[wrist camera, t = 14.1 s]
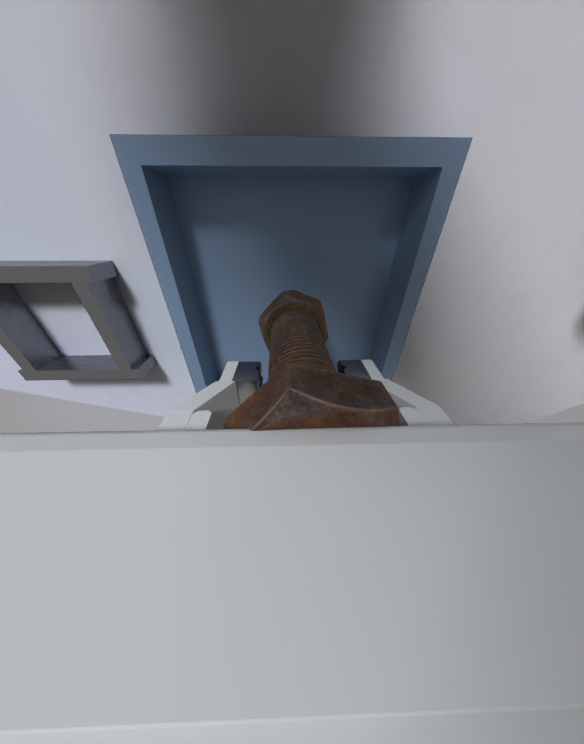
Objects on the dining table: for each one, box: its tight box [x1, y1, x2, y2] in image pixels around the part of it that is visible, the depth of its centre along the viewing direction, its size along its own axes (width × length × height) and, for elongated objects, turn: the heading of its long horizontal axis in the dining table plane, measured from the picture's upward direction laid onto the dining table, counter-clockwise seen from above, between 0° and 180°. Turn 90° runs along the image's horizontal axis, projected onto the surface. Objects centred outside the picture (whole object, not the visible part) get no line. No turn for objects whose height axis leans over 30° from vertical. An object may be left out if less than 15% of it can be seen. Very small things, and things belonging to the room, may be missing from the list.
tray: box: [109, 134, 472, 393], centre depth 19 cm, size 20×20×4 cm
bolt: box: [223, 290, 401, 431], centre depth 12 cm, size 6×5×15 cm
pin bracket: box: [0, 261, 156, 380], centre depth 20 cm, size 12×11×3 cm
